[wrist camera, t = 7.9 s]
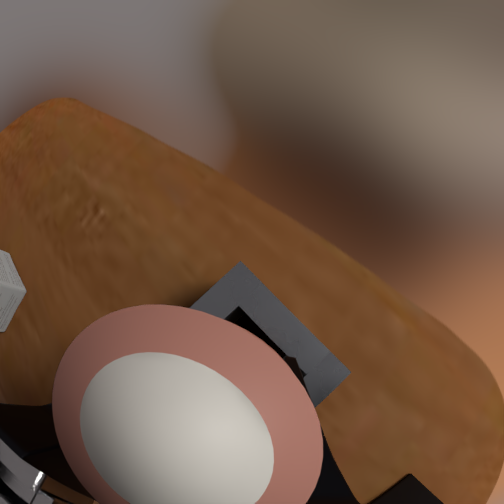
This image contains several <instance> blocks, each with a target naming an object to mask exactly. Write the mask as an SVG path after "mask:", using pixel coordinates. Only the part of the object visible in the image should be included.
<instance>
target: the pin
mask: <svg viewBox="0 0 504 504" xmlns="http://www.w3.org/2000/svg"><path fill="white" fill-rule="evenodd" d="M52 411H53V420H54V426H55V431H56V434H57V438H58V441H59V444H60V447H61V449H62V452H63V454H64V456H65V458H66V460H67V462H68V464H69V466H70V467H71V469H72V471H73V473H74V474H75V476H76V477H77V478H78V480H79V481H80V483H81V484H82V485H83V487H84V488H85V489H86V490H87V491H88V492H89V493H90V494H91V496H92V497H93V498H94V499H95V500H96V501H97V502H98V503H100V504H306V502H307V501H308V499H309V498H310V496H311V494H312V492H313V491H314V489H315V487H316V484H317V481H318V478H319V476H320V472H321V466H322V460H323V438H322V433H321V427H320V422H319V419H318V417H317V414H316V411H315V408H314V405H313V403H312V401H311V400H310V398H309V396H308V394H307V392H306V390H305V388H304V387H303V385H302V384H301V383H300V381H299V380H298V378H297V377H296V376H295V374H294V373H293V371H292V370H291V369H290V367H289V366H288V365H287V363H286V362H285V361H284V360H283V359H282V358H281V357H280V356H279V354H278V353H277V352H276V351H275V350H274V349H272V348H271V347H270V346H269V345H268V344H266V343H265V342H264V341H263V340H262V339H260V338H259V337H257V336H256V335H254V334H252V333H251V332H249V331H248V330H246V329H244V328H242V327H240V326H238V325H236V324H234V323H232V322H229V321H226V320H224V319H221V318H219V317H216V316H213V315H210V314H208V313H205V312H202V311H198V310H194V309H190V308H185V307H180V306H171V305H141V306H135V307H128V308H125V309H121V310H118V311H115V312H112V313H110V314H108V315H106V316H104V317H102V318H100V319H98V320H96V321H95V322H93V323H92V324H91V325H89V326H88V327H86V328H85V329H84V330H83V331H82V332H81V333H80V334H79V335H78V336H77V337H76V338H75V339H74V340H73V342H72V343H71V344H70V346H69V347H68V349H67V350H66V352H65V354H64V356H63V358H62V359H61V361H60V364H59V367H58V370H57V373H56V376H55V381H54V386H53V395H52Z"/></svg>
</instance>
